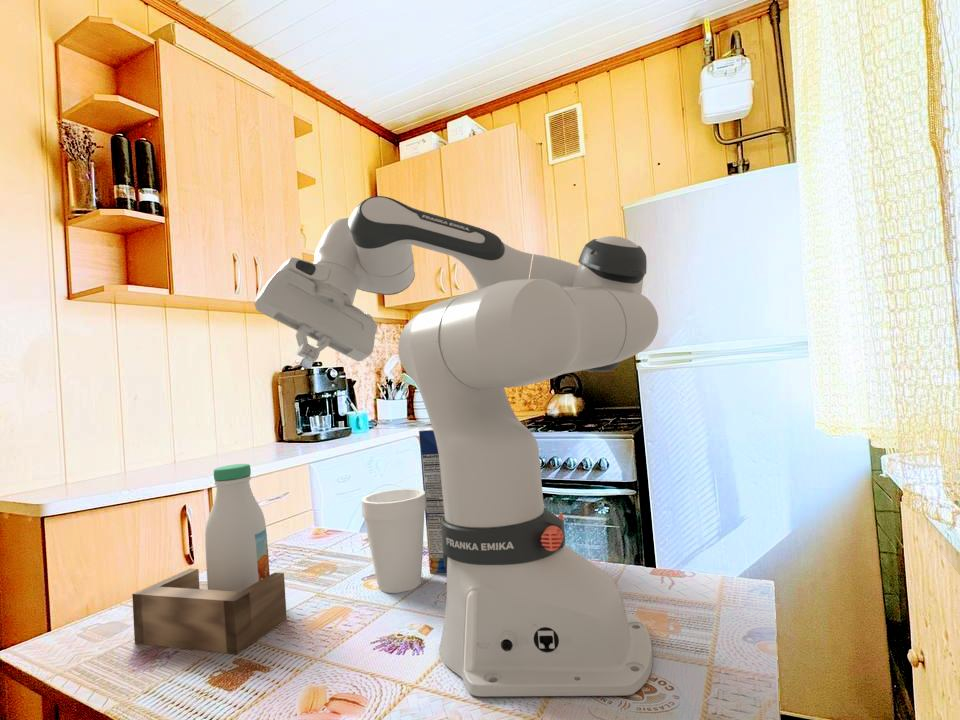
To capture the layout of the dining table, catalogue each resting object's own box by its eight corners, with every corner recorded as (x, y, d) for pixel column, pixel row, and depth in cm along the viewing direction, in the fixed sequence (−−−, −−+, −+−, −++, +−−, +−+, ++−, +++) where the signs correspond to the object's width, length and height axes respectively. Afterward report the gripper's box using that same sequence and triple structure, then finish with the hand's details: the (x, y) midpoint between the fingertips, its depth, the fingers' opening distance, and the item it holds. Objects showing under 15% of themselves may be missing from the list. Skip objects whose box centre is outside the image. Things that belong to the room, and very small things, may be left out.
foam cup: (412, 600, 68) (405, 504, 69) (355, 595, 71) (348, 503, 72) (441, 573, 77) (435, 488, 78) (389, 570, 80) (383, 488, 81)
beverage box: (429, 573, 77) (418, 431, 78) (449, 549, 88) (439, 424, 89) (472, 573, 76) (460, 428, 77) (487, 549, 86) (477, 421, 87)
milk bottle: (246, 626, 64) (236, 470, 65) (196, 624, 66) (186, 472, 67) (283, 599, 72) (273, 459, 73) (236, 598, 74) (227, 462, 74)
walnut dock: (286, 619, 65) (283, 572, 65) (237, 654, 57) (234, 601, 57) (192, 611, 70) (190, 568, 70) (134, 642, 62) (132, 593, 62)
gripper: (369, 327, 94) (353, 390, 87) (266, 270, 84) (236, 336, 76) (388, 313, 90) (372, 377, 83) (282, 251, 80) (253, 318, 72)
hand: (306, 357), depth 79 cm, fingers closed
